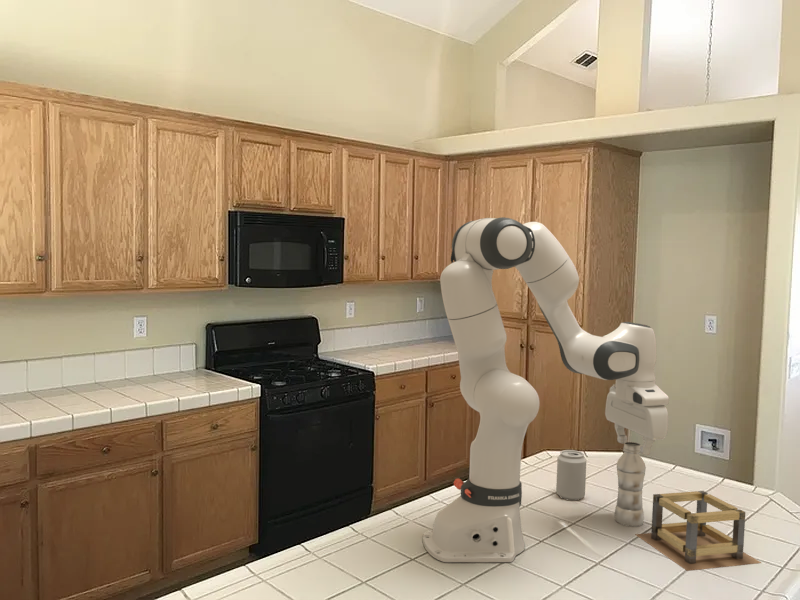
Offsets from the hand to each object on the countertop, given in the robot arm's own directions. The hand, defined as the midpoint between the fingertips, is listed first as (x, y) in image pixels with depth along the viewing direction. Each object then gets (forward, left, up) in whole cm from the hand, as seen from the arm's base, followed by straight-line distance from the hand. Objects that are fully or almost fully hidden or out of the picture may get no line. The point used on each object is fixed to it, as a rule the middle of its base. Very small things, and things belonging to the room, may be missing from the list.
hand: (633, 448), depth 158 cm
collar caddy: (+6, -16, -18) cm, 25 cm away
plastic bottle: (0, 0, -19) cm, 19 cm away
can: (-4, +21, -19) cm, 29 cm away
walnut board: (+6, -16, -19) cm, 25 cm away
